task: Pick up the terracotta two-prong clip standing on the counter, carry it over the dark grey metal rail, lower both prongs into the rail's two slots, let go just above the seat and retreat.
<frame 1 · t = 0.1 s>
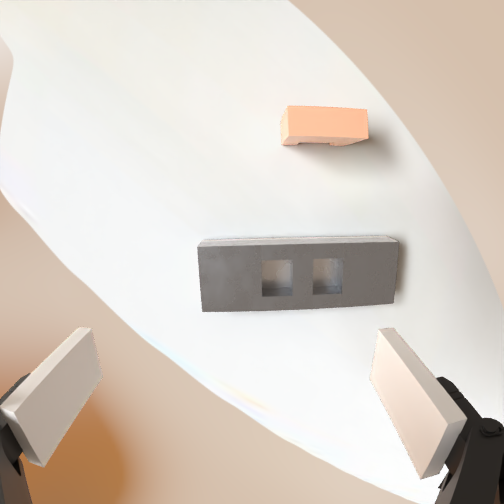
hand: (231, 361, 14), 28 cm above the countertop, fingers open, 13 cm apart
clip: (312, 133, 37), on the countertop
rail: (298, 268, 41), on the countertop
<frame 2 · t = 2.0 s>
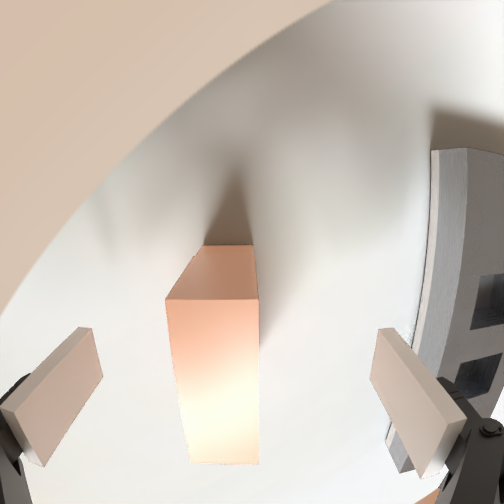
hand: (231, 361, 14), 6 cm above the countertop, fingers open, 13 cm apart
clip: (229, 307, 20), on the countertop
rail: (458, 319, 20), on the countertop
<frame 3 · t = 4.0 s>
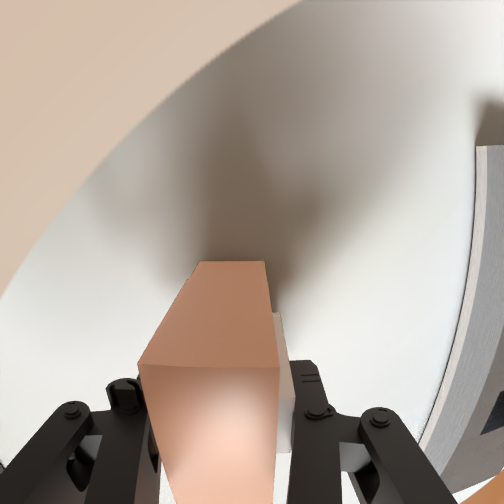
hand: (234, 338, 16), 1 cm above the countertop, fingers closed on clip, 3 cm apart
clip: (234, 336, 16), on the countertop, touching gripper
rail: (495, 339, 16), on the countertop
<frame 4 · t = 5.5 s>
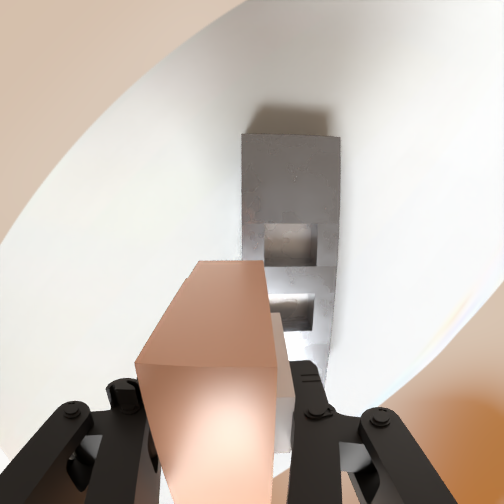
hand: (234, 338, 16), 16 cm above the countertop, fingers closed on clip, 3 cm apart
clip: (233, 335, 16), point 15 cm above the countertop, touching gripper
rail: (284, 267, 31), on the countertop
when the fingers open (5 cm above the countertop, at t = 7.3 s): clip stays where it is, point 4 cm above the countertop.
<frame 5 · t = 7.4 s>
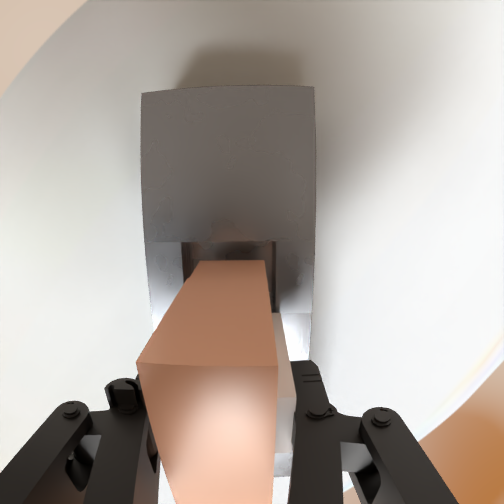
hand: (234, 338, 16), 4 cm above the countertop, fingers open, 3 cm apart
clip: (234, 335, 16), point 4 cm above the countertop
rail: (234, 305, 20), on the countertop
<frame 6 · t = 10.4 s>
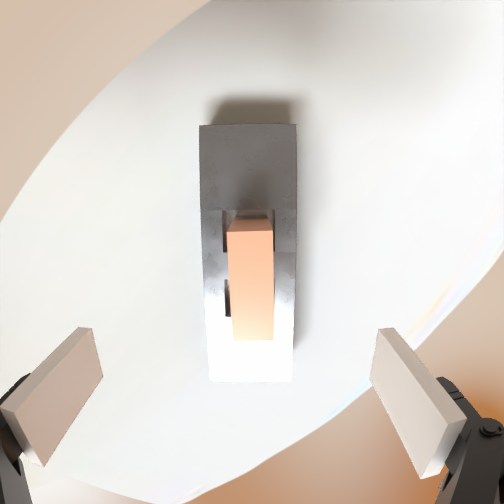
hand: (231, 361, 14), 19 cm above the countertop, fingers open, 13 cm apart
clip: (252, 257, 31), point 1 cm above the countertop, touching rail
rail: (249, 255, 32), on the countertop
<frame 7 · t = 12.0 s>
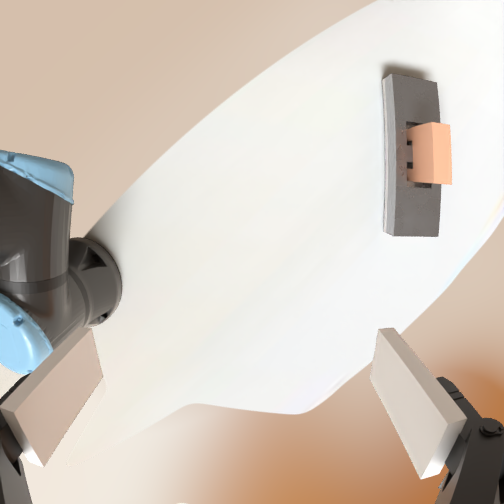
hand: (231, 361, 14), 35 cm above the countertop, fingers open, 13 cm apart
clip: (412, 155, 43), point 1 cm above the countertop, touching rail
rail: (407, 156, 44), on the countertop
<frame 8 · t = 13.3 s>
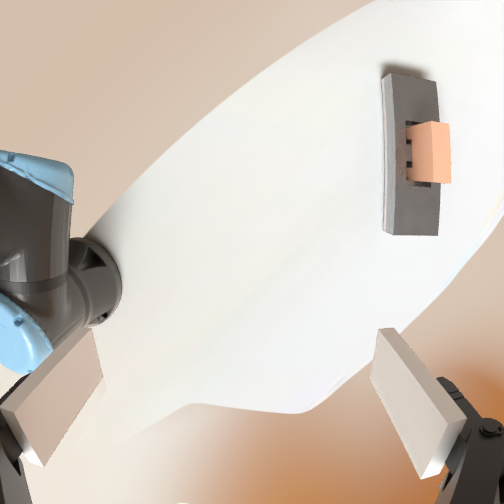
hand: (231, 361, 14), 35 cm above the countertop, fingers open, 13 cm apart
clip: (411, 155, 43), point 1 cm above the countertop, touching rail
rail: (407, 155, 44), on the countertop
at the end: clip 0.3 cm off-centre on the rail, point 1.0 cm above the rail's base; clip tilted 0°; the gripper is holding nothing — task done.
